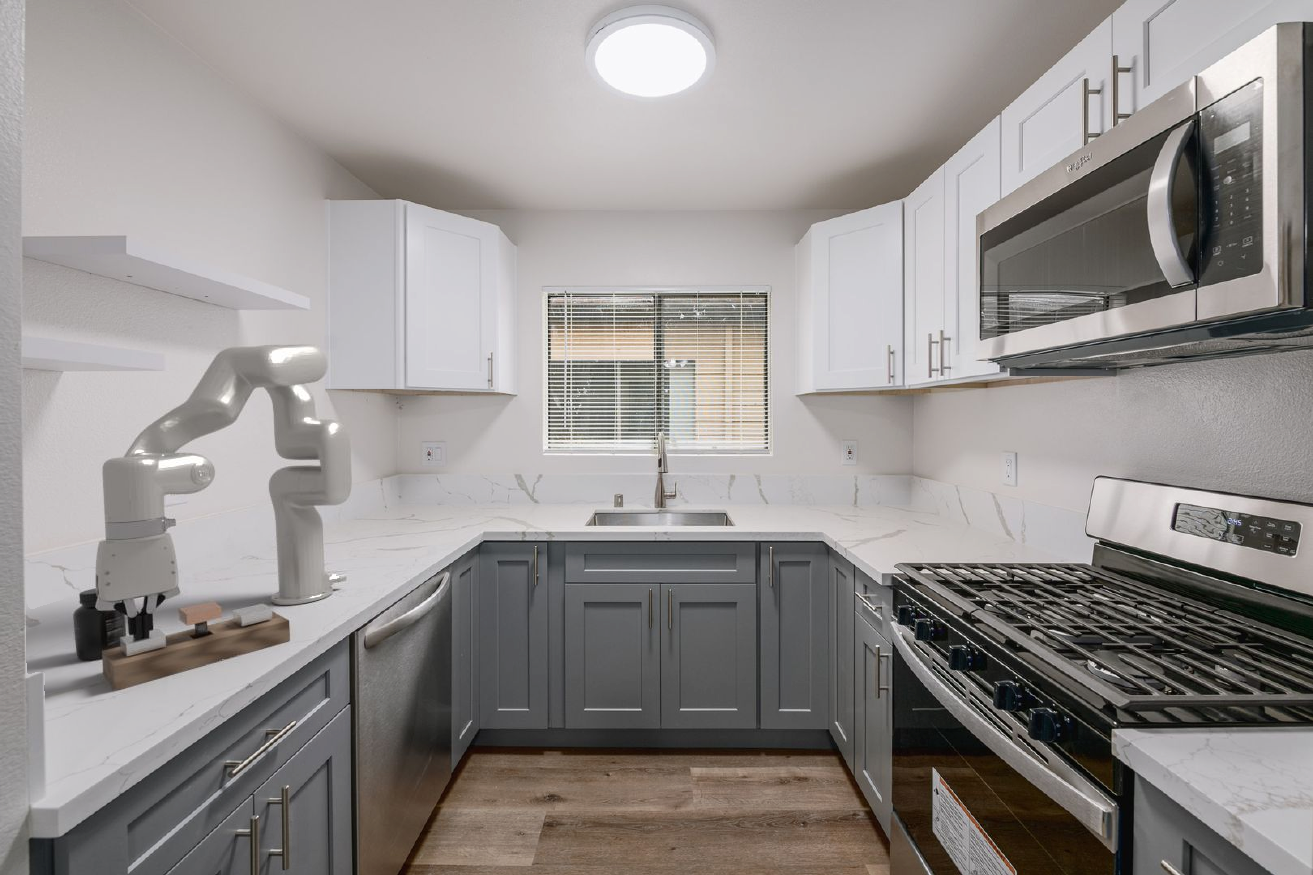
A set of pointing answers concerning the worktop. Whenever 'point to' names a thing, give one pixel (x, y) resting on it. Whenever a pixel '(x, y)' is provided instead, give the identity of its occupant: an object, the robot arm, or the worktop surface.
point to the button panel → (192, 651)
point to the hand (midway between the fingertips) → (141, 636)
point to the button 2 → (252, 614)
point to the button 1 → (143, 643)
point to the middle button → (200, 616)
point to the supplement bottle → (96, 628)
